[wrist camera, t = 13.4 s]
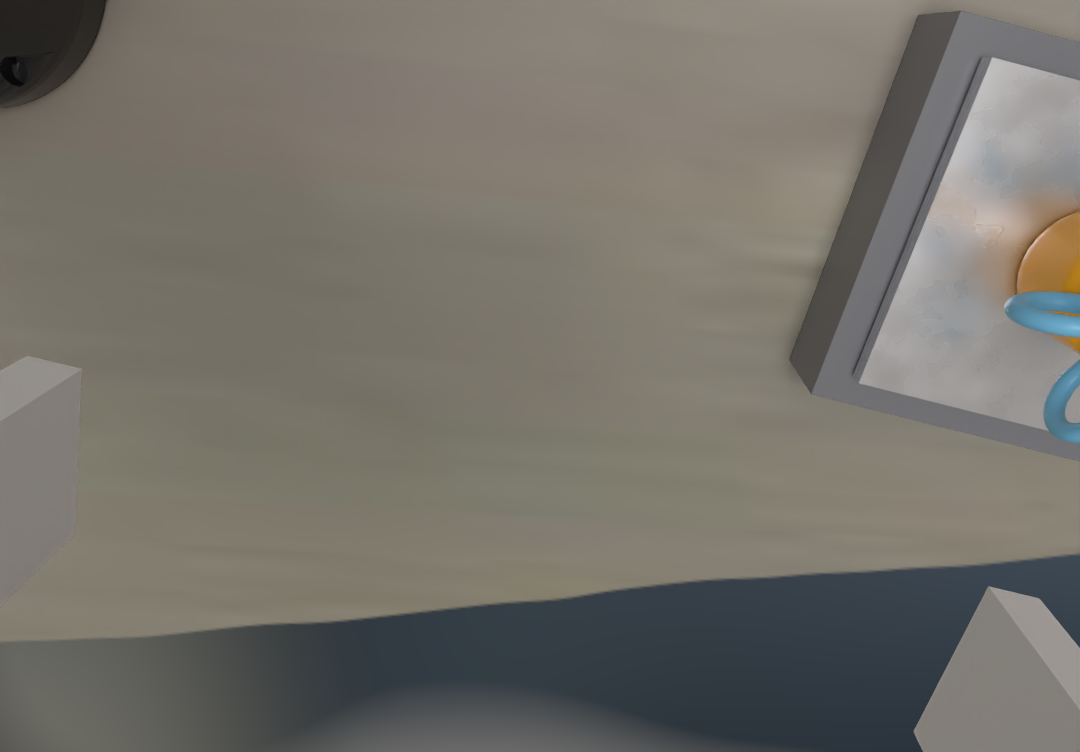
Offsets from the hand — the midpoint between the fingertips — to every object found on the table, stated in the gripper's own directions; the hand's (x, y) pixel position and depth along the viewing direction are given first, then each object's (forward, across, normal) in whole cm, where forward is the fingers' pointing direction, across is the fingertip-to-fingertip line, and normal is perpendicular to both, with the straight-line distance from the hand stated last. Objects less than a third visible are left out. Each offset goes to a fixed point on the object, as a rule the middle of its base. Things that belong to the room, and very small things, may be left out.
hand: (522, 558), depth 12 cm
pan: (+33, +23, +3) cm, 41 cm away
